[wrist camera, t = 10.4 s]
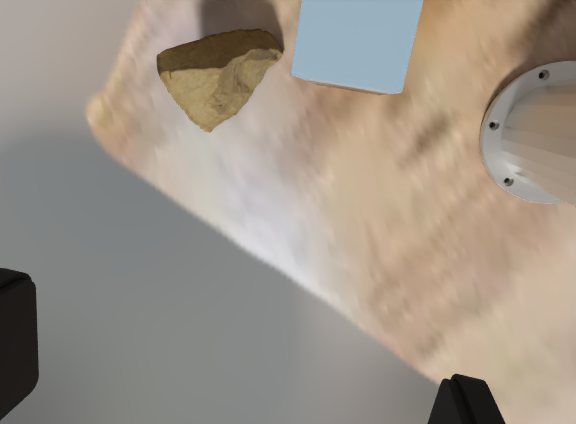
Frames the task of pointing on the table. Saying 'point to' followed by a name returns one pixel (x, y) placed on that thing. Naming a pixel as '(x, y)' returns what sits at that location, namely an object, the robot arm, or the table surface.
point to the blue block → (356, 42)
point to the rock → (217, 73)
